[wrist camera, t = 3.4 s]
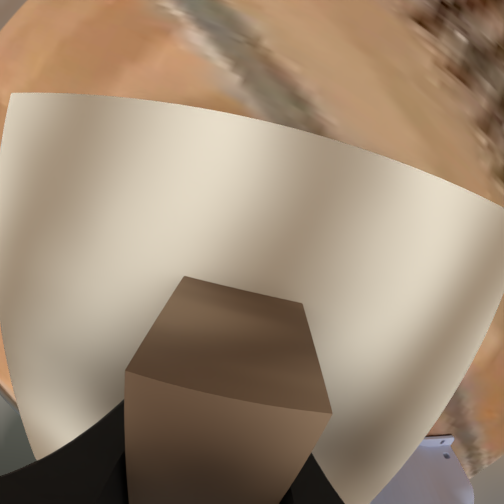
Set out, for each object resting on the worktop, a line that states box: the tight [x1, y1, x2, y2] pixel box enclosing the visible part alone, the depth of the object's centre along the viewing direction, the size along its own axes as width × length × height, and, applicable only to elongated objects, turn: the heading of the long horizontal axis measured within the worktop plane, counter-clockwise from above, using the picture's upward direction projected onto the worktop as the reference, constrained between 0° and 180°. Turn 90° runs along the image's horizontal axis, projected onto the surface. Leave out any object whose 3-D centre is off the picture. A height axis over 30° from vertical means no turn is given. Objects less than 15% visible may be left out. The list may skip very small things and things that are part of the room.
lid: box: [0, 93, 504, 504], centre depth 8 cm, size 16×16×5 cm
